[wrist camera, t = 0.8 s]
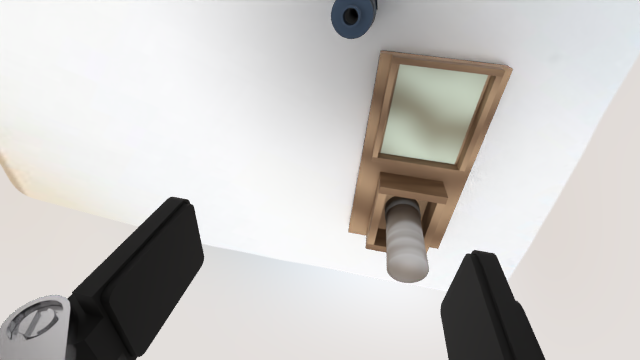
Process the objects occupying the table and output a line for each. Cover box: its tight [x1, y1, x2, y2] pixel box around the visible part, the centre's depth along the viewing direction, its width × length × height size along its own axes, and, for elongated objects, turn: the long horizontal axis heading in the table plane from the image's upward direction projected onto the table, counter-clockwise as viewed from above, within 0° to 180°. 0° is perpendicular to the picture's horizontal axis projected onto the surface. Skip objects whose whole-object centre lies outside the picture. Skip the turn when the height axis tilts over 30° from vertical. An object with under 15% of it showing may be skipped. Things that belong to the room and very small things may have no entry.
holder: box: [348, 50, 513, 283], centre depth 28 cm, size 21×11×10 cm, turn 175°
